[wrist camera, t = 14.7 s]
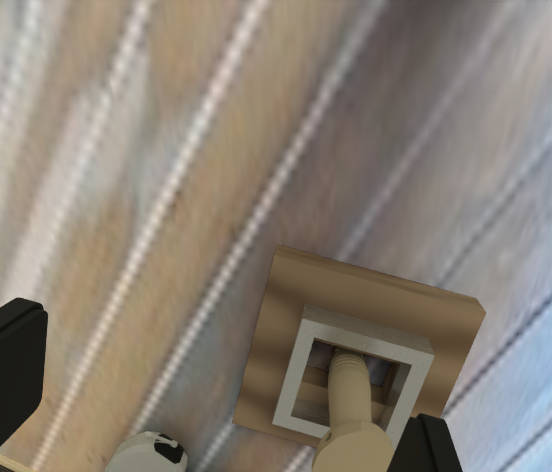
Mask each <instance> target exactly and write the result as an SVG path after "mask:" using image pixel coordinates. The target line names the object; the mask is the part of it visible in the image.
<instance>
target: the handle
mask: <svg viewBox="0 0 552 472" xmlns="http://www.w3.org/2000/svg"><path fill="white" fill-rule="evenodd" d="M328 399H329V413H330V430H328V431H327V433H326V434H325V435H324V436H323V438H322V440H321V441H320V443H319V445H318V447H317V449H316V452H315V455H314V458H313V462H312V472H387V469H388V467H389V464H390V462H391V460H392V457H393V455H394V448H393V445H392V442H391V439H390V438H389V436H388V435H387V434H386V432H384V431H383V430H382V429H381V428H380V427H378V426H377V425H375V424H373V423H372V421H371V387H370V379H369V373H368V369H367V366H366V363H365V361H364V355H363V353H359V352H355V351H352V350H348V349H345V348H341V347H338V346H336V347H335V349H334V356H333V358H332V360H331V364H330V368H329V375H328Z"/></svg>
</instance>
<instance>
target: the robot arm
mask: <svg viewBox="0 0 552 472" xmlns="http://www.w3.org/2000/svg"><path fill="white" fill-rule="evenodd" d="M47 324H48V313H47V312H46V311H44V309H43V306H42V304H40V303H37V302H34V301H30V300H27V299H23V298H15V299H13V300H12V301H10V302H8V303H7V304H5V305H4V306H2V307H0V446H1V445H2V444H3V443H4V442H5V441H6V440H7V439H8V438H9V437H10V436H11V435H12V434H13V433H14V432H15V431H16V430H17V429H18V428H19V427H20V426H21V425H22V424H23V423H24V422H25V421H26V420H27V419H28V418H29V417H30V416H31V415H32V414H33V413H34V411H35V410H36V409H37V407H38V406H39V404H40V402H41V399H42V391H43V377H44V364H45V351H46V337H47ZM387 472H463V471H462V468H461V465H460V462H459V459H458V456H457V453H456V450H455V447H454V444H453V441H452V439H451V436H450V433H449V430H448V427H447V424H446V422H445V420H443V419H441V418H437V417H434V416H430V415H427V414H423V413H419V414H418V415H417V417H416V418H415V417H410V418H409V419H408V421H407V423H406V426H405V428H404V431H403V433H402V435H401V438H400V440H399V443H398V445H397V448H396V450H395V452H394V455H393V457H392V460H391V462H390V464H389V467H388V469H387Z"/></svg>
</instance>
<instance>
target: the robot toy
mask: <svg viewBox="0 0 552 472" xmlns="http://www.w3.org/2000/svg"><path fill="white" fill-rule="evenodd" d="M187 464H188V457H187V455H186V454H185V452H184V449H183V448H182V446H180V445H179V444H178V443H177V441H174V440H172V439H170V438H169V437H167V436H166V435H165V434H161V433H160V432H149V431H146V432H144V433H139V434H137V435H135V436H133V437H131V438H129V439H128V440H127V441H125V442H124V443H122V444H121V445H119V447H118V448H117V450H116V451H115V453H114V454H113V456H112V458H111V459H110V461H109V463H108V465H107V467H106V469H105V471H104V472H185V471H186V468H187Z"/></svg>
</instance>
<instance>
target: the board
mask: <svg viewBox="0 0 552 472" xmlns="http://www.w3.org/2000/svg"><path fill="white" fill-rule="evenodd" d="M305 304H308V305H311V306H315V307H319V308H322V309H326V310H329V311H333V312H337V313H340V314H344V315H347V316H351V317H355V318H358V319H362V320H365V321H369V322H373V323H376V324H380V325H383V326H387V327H391V328H394V329H398V330H401V331H405V332H409V333H412V334H416V335H419V336H423V337H427V338H428V339H429V342H430V344H431V347H432V350H433V352H434V355H435V356H434V358H433V361H432V363H431V366H430V368H429V370H428V373H427V375H426V378H425V380H424V383H423V385H422V387H421V390H420V392H419V395H418V397H417V399H416V402H415V404H414V407H413V409H412V411H411V414H410V416H409V418H410V417H415V418H416V417H417V415H418V414H419V413H423V414H427V415H430V416H434V417H437V418H440V416H441V414H442V412H443V409H444V407H445V405H446V403H447V400H448V398H449V396H450V394H451V391H452V389H453V387H454V384H455V382H456V380H457V378H458V375H459V373H460V371H461V369H462V366H463V364H464V362H465V360H466V357H467V355H468V353H469V351H470V348H471V346H472V344H473V342H474V339H475V337H476V335H477V333H478V330H479V328H480V326H481V323H482V321H483V319H484V317H485V314H486V312H485V310H484V309H483V307H482V306H481V304H480V303H479V302H478V300H477V299H476V298H472V297H469V296H465V295H461V294H458V293H454V292H450V291H447V290H443V289H439V288H436V287H432V286H428V285H425V284H421V283H417V282H413V281H410V280H406V279H402V278H399V277H395V276H391V275H388V274H384V273H380V272H377V271H373V270H369V269H365V268H362V267H358V266H354V265H351V264H347V263H343V262H340V261H336V260H332V259H329V258H325V257H321V256H317V255H314V254H310V253H306V252H303V251H299V250H295V249H292V248H288V247H284V246H281V245H278V247H277V249H276V252H275V254H274V258H273V262H272V266H271V270H270V274H269V278H268V281H267V285H266V289H265V293H264V297H263V301H262V305H261V309H260V313H259V317H258V321H257V325H256V329H255V333H254V337H253V341H252V345H251V349H250V353H249V357H248V361H247V365H246V369H245V373H244V377H243V380H242V384H241V388H240V392H239V396H238V400H237V404H236V408H235V412H234V416H233V420H232V423H234V424H237V425H241V426H244V427H247V428H251V429H254V430H258V431H261V432H264V433H268V434H271V435H274V436H278V437H281V438H285V439H288V440H291V441H295V442H298V443H302V444H305V445H308V446H312V447H315V448H317V447H318V445H319V443H320V441H321V440H322V438H319V437H315V436H312V435H308V434H305V433H302V432H298V431H295V430H291V429H288V428H285V427H281V426H278V425H274V424H272V421H273V416H274V411H275V406H276V402H277V399H278V395H279V392H280V388H281V385H282V381H283V378H284V374H285V371H286V367H287V364H288V361H289V357H290V354H291V350H292V347H293V343H294V340H295V336H296V333H297V329H298V326H299V322H300V319H301V315H302V312H303V309H304V305H305ZM314 340H316V341H320V342H324V343H327V344H331V345H334V346H338V347H341V348H345V349H348V350H352V351H355V352H359V353H363V354H366V355H370V356H373V357H377V358H380V359H384V360H387V361H391V364H390V366H389V369H388V372H387V374H386V377H385V380H384V382H383V385H382V387H381V386H377V385H374V384H370V387H371V419H374V420H377V421H379V419H380V416H381V413H382V411H383V408H384V406H385V403H386V400H387V398H388V395H389V393H390V390H391V388H392V385H393V382H394V380H395V377H396V375H397V372H398V369H399V367H400V364H401V362H400V361H397V360H393V359H390V358H386V357H383V356H379V355H376V354H372V353H368V352H365V351H361V350H358V349H354V348H351V347H347V346H344V345H340V344H337V343H333V342H329V341H326V340H322V339H319V338H315V337H314ZM328 375H329V372H328V371H325V370H321V369H318V368H314V367H311V366H307V365H306V367H305V370H304V373H303V376H302V380H301V383H300V386H299V390H298V393H297V396H296V397H298V398H301V399H305V400H308V401H312V402H315V403H319V404H322V405H325V406H329V399H328Z"/></svg>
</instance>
